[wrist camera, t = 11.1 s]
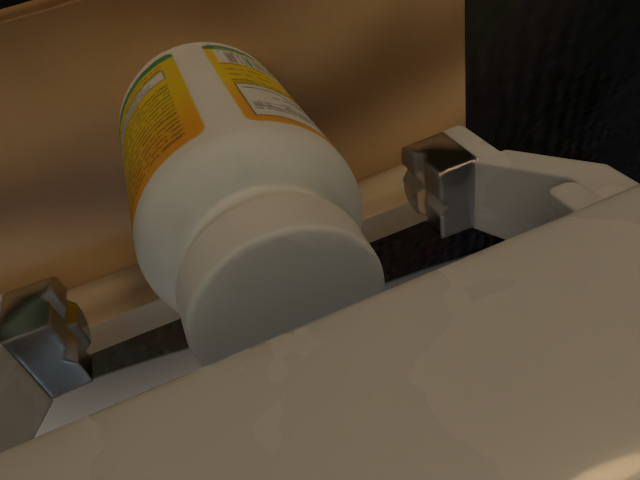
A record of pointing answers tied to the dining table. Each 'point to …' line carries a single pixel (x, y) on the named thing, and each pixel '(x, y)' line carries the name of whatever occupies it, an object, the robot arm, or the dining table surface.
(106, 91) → the windowsill ledge
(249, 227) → the supplement bottle
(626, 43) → the dining table surface
